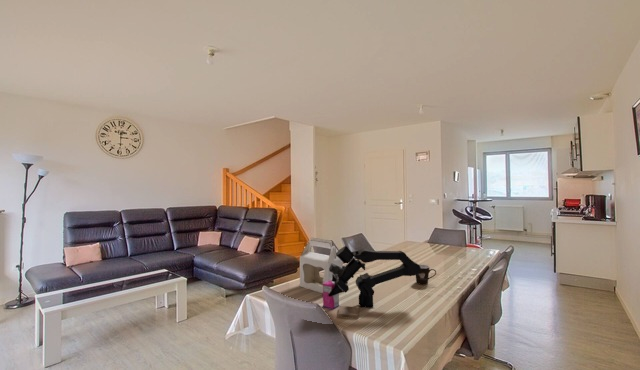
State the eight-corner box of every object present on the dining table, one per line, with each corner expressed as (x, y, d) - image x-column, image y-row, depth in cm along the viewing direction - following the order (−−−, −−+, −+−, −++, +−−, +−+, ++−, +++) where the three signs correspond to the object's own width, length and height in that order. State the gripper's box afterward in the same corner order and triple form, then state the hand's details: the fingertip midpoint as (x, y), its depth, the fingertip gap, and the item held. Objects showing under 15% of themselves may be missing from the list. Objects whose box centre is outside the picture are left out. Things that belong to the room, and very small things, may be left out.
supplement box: (329, 303, 149) (329, 280, 149) (339, 306, 145) (339, 282, 145) (322, 306, 145) (322, 283, 145) (332, 309, 141) (332, 285, 141)
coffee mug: (412, 283, 179) (411, 266, 179) (418, 279, 185) (418, 263, 185) (431, 287, 171) (431, 270, 171) (437, 283, 178) (436, 267, 178)
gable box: (299, 286, 174) (299, 238, 174) (314, 280, 184) (314, 235, 184) (328, 295, 160) (328, 243, 160) (343, 288, 170) (343, 239, 170)
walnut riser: (358, 310, 140) (358, 307, 140) (358, 318, 132) (358, 315, 132) (339, 309, 142) (339, 305, 142) (337, 317, 133) (337, 314, 133)
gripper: (336, 253, 155) (315, 275, 154) (341, 263, 136) (317, 288, 135) (351, 268, 155) (330, 290, 154) (358, 280, 137) (334, 304, 136)
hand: (328, 292), depth 145 cm, fingers closed on supplement box, 8 cm apart
